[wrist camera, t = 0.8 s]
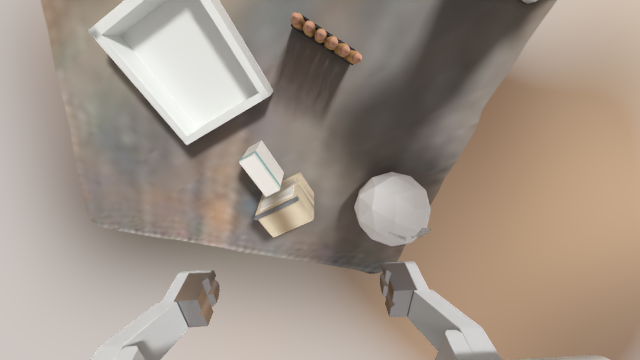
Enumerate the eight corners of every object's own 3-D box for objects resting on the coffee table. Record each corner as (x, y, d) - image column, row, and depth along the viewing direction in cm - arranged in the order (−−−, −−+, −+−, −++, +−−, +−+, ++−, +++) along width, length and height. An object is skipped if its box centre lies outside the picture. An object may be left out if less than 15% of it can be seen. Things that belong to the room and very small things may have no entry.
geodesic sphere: (452, 169, 44) (430, 210, 34) (440, 229, 51) (419, 279, 41) (375, 154, 52) (340, 185, 42) (374, 208, 59) (343, 245, 49)
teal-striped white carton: (261, 139, 47) (253, 154, 40) (284, 172, 50) (280, 190, 44) (248, 147, 47) (238, 162, 41) (271, 179, 51) (265, 197, 45)
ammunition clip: (292, 27, 38) (283, 20, 27) (297, 14, 37) (290, 2, 26) (349, 63, 40) (362, 70, 30) (356, 53, 40) (370, 55, 29)
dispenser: (299, 171, 50) (296, 197, 41) (314, 193, 53) (313, 222, 44) (263, 189, 52) (253, 217, 43) (279, 209, 55) (272, 240, 46)
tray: (197, -36, 34) (181, -47, 30) (273, 91, 42) (269, 96, 38) (111, 32, 38) (87, 30, 34) (197, 136, 46) (186, 145, 42)
